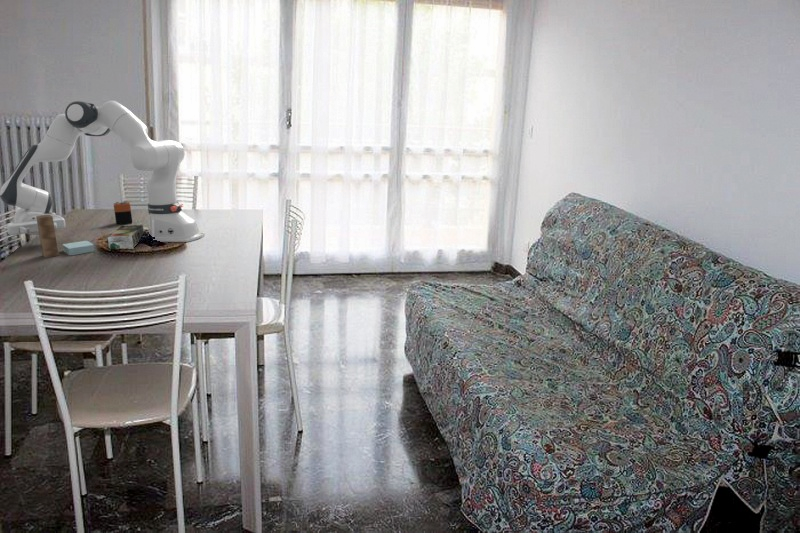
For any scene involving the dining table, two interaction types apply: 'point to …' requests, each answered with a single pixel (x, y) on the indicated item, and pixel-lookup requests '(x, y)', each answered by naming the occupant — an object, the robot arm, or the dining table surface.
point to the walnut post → (47, 236)
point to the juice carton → (126, 237)
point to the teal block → (78, 247)
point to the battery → (122, 213)
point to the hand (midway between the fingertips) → (41, 229)
